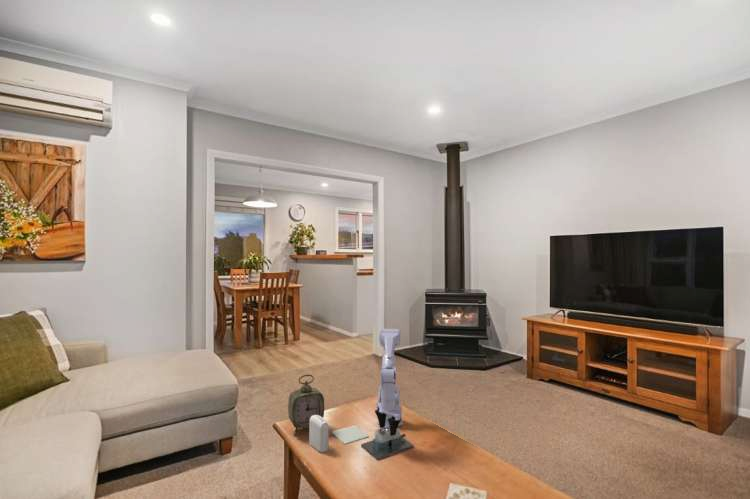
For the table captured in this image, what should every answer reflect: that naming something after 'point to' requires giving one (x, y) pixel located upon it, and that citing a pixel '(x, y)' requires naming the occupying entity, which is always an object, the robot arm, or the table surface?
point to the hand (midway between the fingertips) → (387, 431)
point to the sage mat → (350, 434)
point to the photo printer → (318, 433)
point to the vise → (387, 446)
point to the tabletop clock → (305, 405)
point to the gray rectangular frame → (385, 435)
